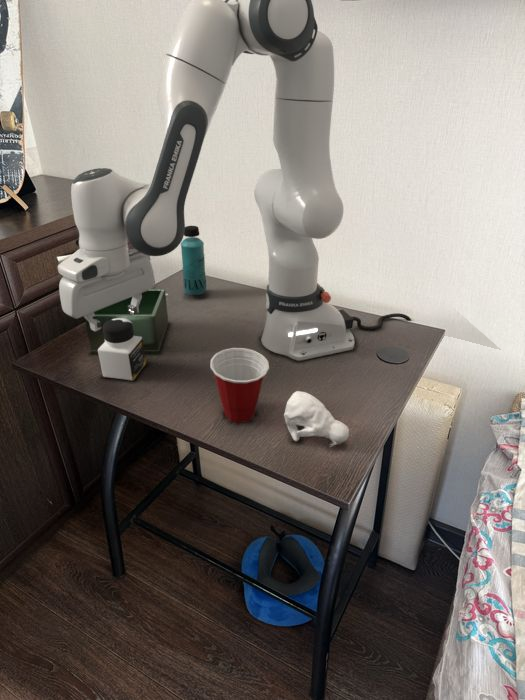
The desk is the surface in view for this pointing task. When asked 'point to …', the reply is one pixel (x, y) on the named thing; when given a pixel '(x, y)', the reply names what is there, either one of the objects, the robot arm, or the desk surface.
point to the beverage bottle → (193, 262)
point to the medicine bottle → (121, 350)
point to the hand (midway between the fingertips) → (115, 321)
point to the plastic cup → (239, 381)
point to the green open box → (136, 320)
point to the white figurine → (312, 419)
